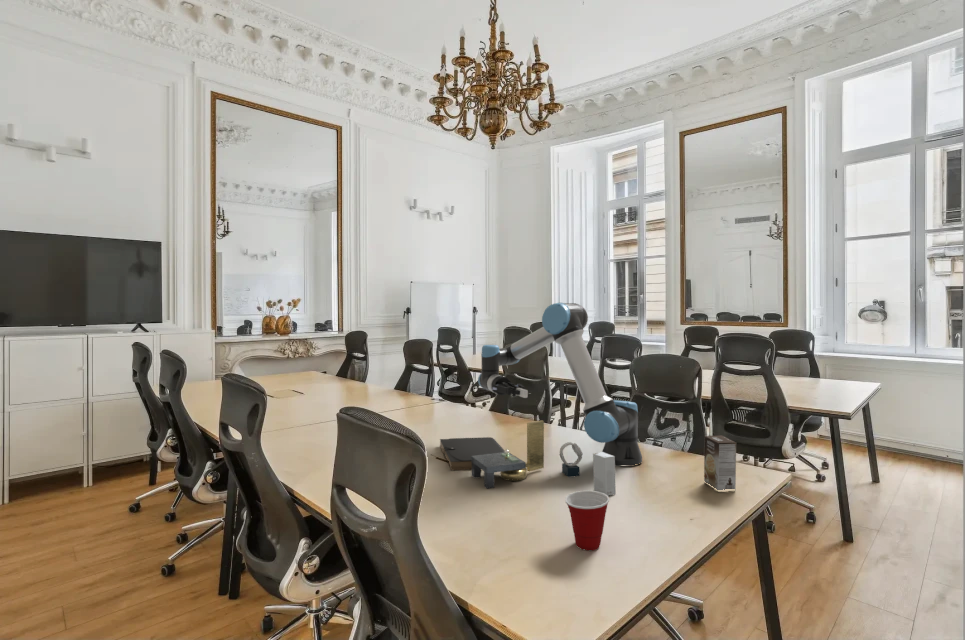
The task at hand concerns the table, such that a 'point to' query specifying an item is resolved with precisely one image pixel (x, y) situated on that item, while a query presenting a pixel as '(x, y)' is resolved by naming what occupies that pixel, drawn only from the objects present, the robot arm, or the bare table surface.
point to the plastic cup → (587, 517)
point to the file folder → (467, 450)
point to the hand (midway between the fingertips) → (525, 394)
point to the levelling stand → (494, 465)
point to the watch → (571, 468)
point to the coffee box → (720, 462)
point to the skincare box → (604, 473)
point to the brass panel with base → (530, 452)
